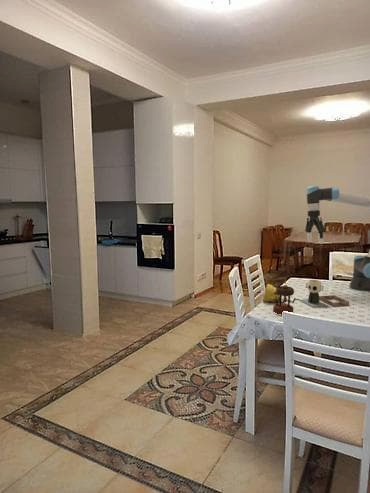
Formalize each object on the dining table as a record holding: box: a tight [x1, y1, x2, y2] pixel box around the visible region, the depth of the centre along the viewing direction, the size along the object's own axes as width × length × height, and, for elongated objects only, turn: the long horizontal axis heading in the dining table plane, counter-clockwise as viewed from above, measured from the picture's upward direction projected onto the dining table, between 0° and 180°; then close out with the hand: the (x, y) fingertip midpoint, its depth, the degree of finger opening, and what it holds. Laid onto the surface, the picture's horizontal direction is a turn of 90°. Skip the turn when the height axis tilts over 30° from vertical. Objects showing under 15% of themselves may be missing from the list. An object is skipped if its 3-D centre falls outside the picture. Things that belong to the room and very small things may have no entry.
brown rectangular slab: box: [319, 294, 350, 307], centre depth 208 cm, size 11×15×2 cm
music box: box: [272, 276, 301, 316], centre depth 187 cm, size 15×11×20 cm
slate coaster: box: [299, 298, 329, 308], centre depth 206 cm, size 10×14×1 cm
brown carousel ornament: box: [262, 283, 280, 303], centre depth 208 cm, size 10×10×10 cm
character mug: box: [305, 279, 324, 303], centre depth 205 cm, size 11×7×13 cm, turn 43°
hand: (315, 242), depth 228 cm, fingers open, 13 cm apart
